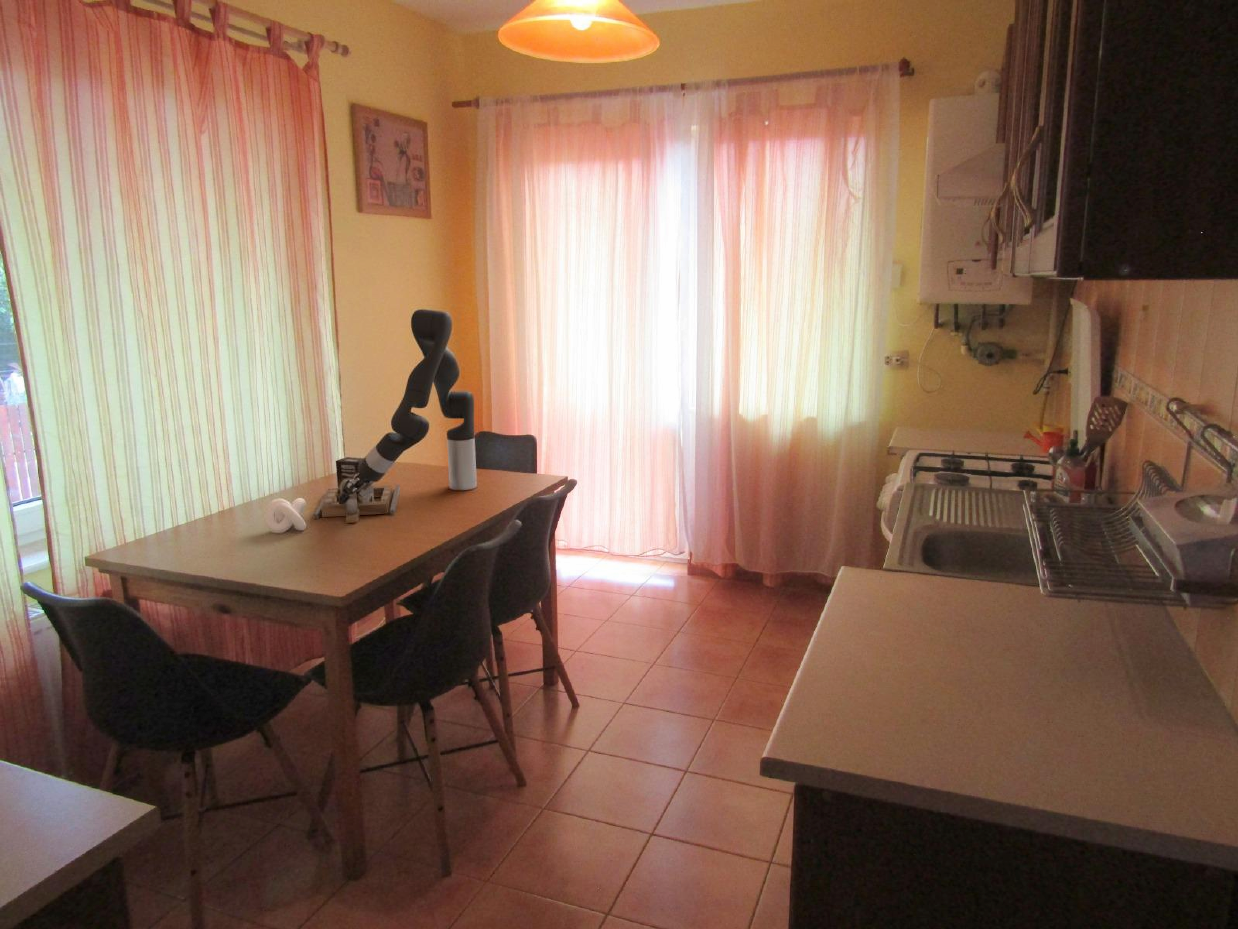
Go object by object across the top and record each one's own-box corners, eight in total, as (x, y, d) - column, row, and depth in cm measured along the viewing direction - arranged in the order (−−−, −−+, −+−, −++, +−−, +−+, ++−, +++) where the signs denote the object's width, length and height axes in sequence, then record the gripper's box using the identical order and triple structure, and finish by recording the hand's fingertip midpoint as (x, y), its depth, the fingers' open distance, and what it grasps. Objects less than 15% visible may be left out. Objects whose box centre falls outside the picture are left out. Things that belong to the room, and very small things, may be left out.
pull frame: (332, 497, 284) (329, 461, 281) (391, 494, 287) (389, 458, 285) (318, 524, 253) (314, 484, 251) (385, 520, 257) (382, 481, 254)
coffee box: (338, 511, 268) (334, 460, 265) (350, 505, 274) (346, 456, 271) (364, 513, 266) (360, 462, 262) (375, 507, 272) (372, 457, 268)
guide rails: (328, 493, 290) (328, 488, 290) (399, 489, 295) (399, 485, 294) (314, 519, 260) (313, 514, 259) (394, 514, 264) (393, 509, 264)
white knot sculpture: (262, 538, 242) (259, 507, 240) (267, 526, 253) (264, 496, 251) (305, 534, 245) (302, 504, 243) (308, 523, 256) (305, 493, 254)
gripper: (383, 448, 257) (351, 485, 263) (354, 457, 244) (321, 496, 250) (399, 466, 256) (367, 503, 263) (371, 477, 243) (338, 515, 250)
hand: (345, 499), depth 257 cm, fingers closed on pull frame, 3 cm apart
